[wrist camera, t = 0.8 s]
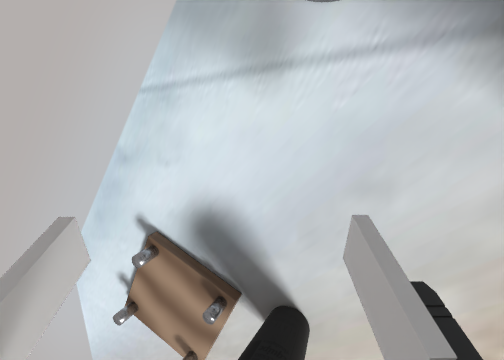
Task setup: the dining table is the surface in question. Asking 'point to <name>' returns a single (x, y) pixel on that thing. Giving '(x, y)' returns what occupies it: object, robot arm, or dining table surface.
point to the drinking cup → (280, 337)
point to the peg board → (178, 298)
